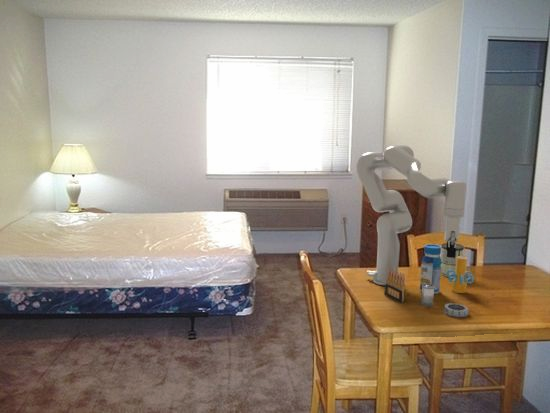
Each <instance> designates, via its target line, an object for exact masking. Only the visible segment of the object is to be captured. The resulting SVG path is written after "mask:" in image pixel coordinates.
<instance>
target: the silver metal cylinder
mask: <svg viewBox="0 0 550 413" xmlns="http://www.w3.org/2000/svg"><path fill="white" fill-rule="evenodd" d="M434 287H435V286H434V285H432V284H422V291H421V299H420V301H421V302H420V303H421V304H420V305H421V306H424V307H427V308H428V307H429V308H431V307H433V306H434V297H435V296H434Z"/></svg>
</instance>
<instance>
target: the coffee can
mask: <svg viewBox="0 0 550 413" xmlns="http://www.w3.org/2000/svg"><path fill="white" fill-rule="evenodd" d="M440 247H441V254H440V258H441V261H442V264H441V267H442V270H441V274H440V276H444V277H447V278H448V276H447V271H448V270H454V271H455V272H456V261H457V257H458V256H462V257H464V252H465V246H464V245H462V244H460V243H456V256H455V258H451V257H447V251H446V247H447V242H444V243H442V244H441V245H440ZM451 273H453V272H452V271H450V272H449V275H450V274H451ZM451 277H454V275H452V276H451Z"/></svg>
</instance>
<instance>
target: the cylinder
mask: <svg viewBox="0 0 550 413" xmlns="http://www.w3.org/2000/svg"><path fill="white" fill-rule="evenodd" d="M467 259H468V257H466V256H463V257H462V256H458V257H457V261H456V272H455V271H454V270H448V271H447V276H448V277H447V276H446V277H447V278H448V281H449V283H451V291H452V292H453V293H457V294H465V293H467V286H468V285H469V284H470V285H471V284H473V283H475V278H474V275H473V274H472V272H471V271H470V270H466V269H467ZM450 271H452V272H453V273H451V274H450V275H449V272H450ZM452 275H454V277H451V276H452ZM468 276H469V277H468ZM467 277H468V278H467ZM470 280H471V281H470Z"/></svg>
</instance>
